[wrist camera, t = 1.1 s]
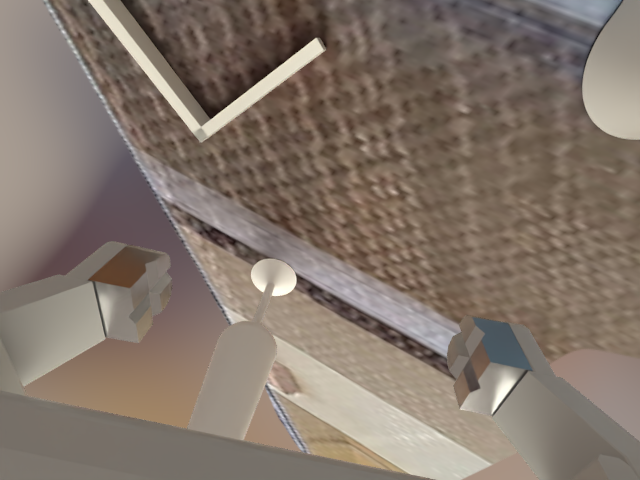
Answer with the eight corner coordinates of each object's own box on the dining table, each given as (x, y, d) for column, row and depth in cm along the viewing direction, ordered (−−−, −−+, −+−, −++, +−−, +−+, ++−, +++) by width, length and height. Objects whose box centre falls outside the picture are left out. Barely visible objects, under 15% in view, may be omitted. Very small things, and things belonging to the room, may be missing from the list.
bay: (187, -199, 26) (168, -225, 24) (326, 49, 34) (323, 50, 31) (69, -48, 32) (44, -56, 29) (211, 135, 39) (200, 142, 37)
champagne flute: (247, 257, 48) (161, 422, 27) (294, 259, 47) (242, 429, 26) (254, 294, 51) (181, 466, 31) (298, 296, 50) (253, 474, 30)
